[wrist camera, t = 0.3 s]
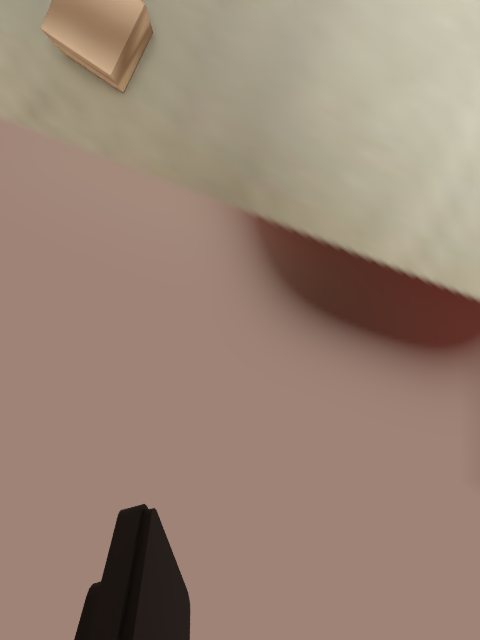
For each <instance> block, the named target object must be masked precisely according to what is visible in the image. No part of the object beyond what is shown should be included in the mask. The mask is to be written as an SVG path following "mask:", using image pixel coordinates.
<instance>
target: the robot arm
mask: <svg viewBox="0 0 480 640" xmlns="http://www.w3.org/2000/svg"><path fill="white" fill-rule="evenodd" d="M74 640H190V601H189V596H188V591H187V588H186V586H185V583H184V581H183V578H182V575H181V573H180V570H179V568H178V565H177V562H176V560H175V557H174V555H173V552H172V549H171V547H170V544H169V542H168V539H167V537H166V534H165V531H164V529H163V526H162V524H161V521H160V518H159V516H158V513H157V511H156V509H155V508H153V509H148V507H147V506H146V505H145V504H142V505H139V506H135V507H131V508H128V509H124V510H121V511H120V512H119V514H118V517H117V521H116V525H115V529H114V533H113V537H112V541H111V545H110V549H109V553H108V557H107V561H106V565H105V569H104V573H103V577H102V581H101V582H98V583H94V584H93V585H92V586H91V587H90V588H89V591H88V594H87V596H86V600H85V603H84V607H83V611H82V614H81V618H80V621H79V625H78V628H77V632H76V636H75V639H74Z"/></svg>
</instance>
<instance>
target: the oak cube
mask: <svg viewBox="0 0 480 640" xmlns="http://www.w3.org/2000/svg"><path fill="white" fill-rule="evenodd" d="M40 29H41V30H42V31H43V32H44V33H45V34H46V35H47V36H48V37H49V38H50V39H51V40H52V41H53V42H54V44H55V45H56V46H57V47H58V48H59V49H60V50H61V51H62V52H63V53H64V54H65V55H67V56H68V57H70V58H71V59H73V60H74V61H76V62H77V63H79V64H80V65H82V66H83V67H85V68H86V69H88V70H89V71H91V72H92V73H94V74H95V75H97V76H98V77H100V78H101V79H103V80H105V81H106V82H108V83H109V84H111V85H112V86H114V87H115V88H117V89H118V90H120V91H121V92H124V90H125V88H126V86H127V84H128V82H129V80H130V78H131V76H132V74H133V72H134V70H135V68H136V66H137V64H138V62H139V60H140V58H141V56H142V54H143V52H144V50H145V48H146V46H147V44H148V42H149V39H150V37H151V35H152V33H153V31H152V27H151V24H150V20H149V16H148V13H147V9H146V6H145V3H144V2H142V1H141V0H53V1H52V3H51V5H50V8H49V10H48V12H47V14H46V17H45V19H44V21H43V24H42V26H41V28H40Z"/></svg>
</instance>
